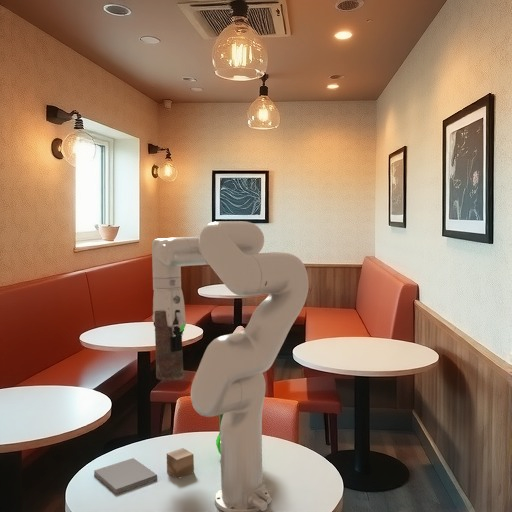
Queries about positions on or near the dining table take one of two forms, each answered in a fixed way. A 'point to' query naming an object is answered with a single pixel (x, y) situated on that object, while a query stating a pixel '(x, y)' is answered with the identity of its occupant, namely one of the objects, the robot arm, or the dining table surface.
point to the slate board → (125, 475)
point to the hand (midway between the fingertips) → (168, 348)
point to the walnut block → (180, 463)
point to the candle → (166, 351)
